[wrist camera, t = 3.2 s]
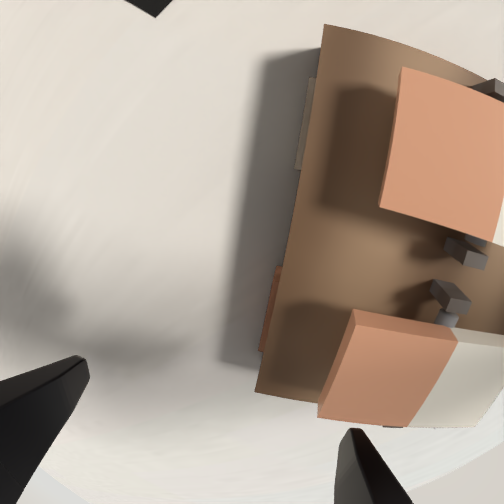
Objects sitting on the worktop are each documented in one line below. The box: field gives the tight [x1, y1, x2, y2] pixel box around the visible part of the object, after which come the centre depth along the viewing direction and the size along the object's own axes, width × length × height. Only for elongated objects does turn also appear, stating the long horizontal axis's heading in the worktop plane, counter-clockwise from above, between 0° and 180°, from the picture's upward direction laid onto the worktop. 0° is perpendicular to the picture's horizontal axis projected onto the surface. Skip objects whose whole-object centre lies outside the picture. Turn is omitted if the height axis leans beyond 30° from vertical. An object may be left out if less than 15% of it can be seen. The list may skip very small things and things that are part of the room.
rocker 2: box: [317, 308, 504, 428], centre depth 11 cm, size 9×6×2 cm, turn 81°
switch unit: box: [254, 24, 504, 428], centre depth 12 cm, size 15×18×5 cm
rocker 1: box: [378, 66, 504, 247], centre depth 8 cm, size 9×6×2 cm, turn 81°
